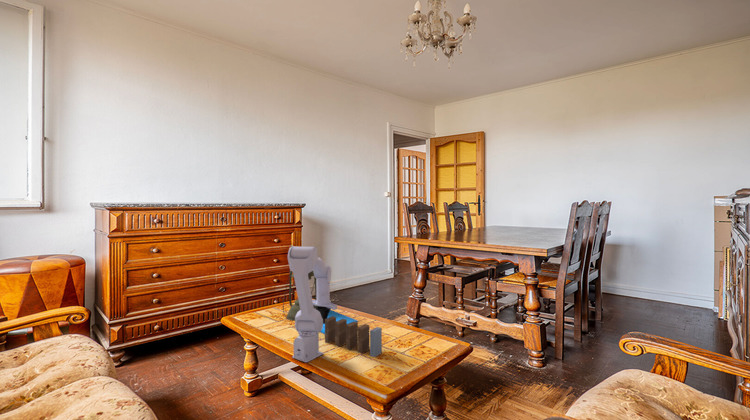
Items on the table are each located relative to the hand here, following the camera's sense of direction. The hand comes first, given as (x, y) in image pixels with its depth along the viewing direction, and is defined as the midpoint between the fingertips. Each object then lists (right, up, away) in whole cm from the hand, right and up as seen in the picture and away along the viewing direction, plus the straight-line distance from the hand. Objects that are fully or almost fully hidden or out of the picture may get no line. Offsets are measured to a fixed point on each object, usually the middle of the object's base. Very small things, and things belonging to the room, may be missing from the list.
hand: (323, 323), depth 155 cm
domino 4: (+18, -7, -13) cm, 23 cm away
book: (0, -7, +18) cm, 19 cm away
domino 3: (+13, -7, -9) cm, 18 cm away
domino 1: (+3, -7, -2) cm, 8 cm away
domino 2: (+8, -7, -6) cm, 12 cm away
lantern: (-16, -7, +33) cm, 37 cm away
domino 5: (+23, -7, -16) cm, 29 cm away
